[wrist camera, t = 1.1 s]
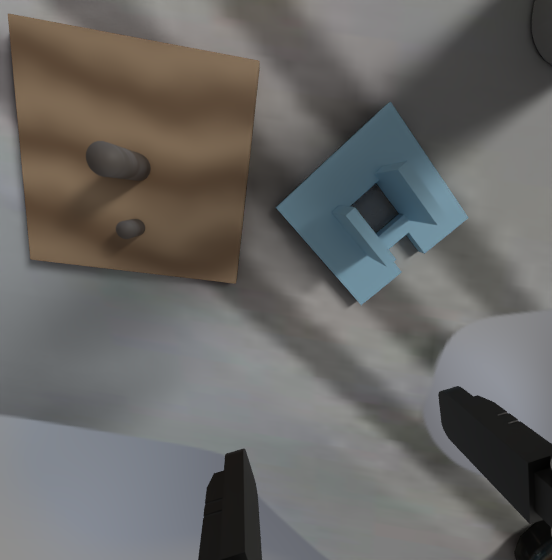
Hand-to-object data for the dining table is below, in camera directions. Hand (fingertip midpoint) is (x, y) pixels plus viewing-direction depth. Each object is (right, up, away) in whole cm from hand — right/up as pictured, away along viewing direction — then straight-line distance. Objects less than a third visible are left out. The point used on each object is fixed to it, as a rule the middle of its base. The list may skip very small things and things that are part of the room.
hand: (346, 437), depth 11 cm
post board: (-16, +17, +17) cm, 28 cm away
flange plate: (+7, +13, +19) cm, 24 cm away
